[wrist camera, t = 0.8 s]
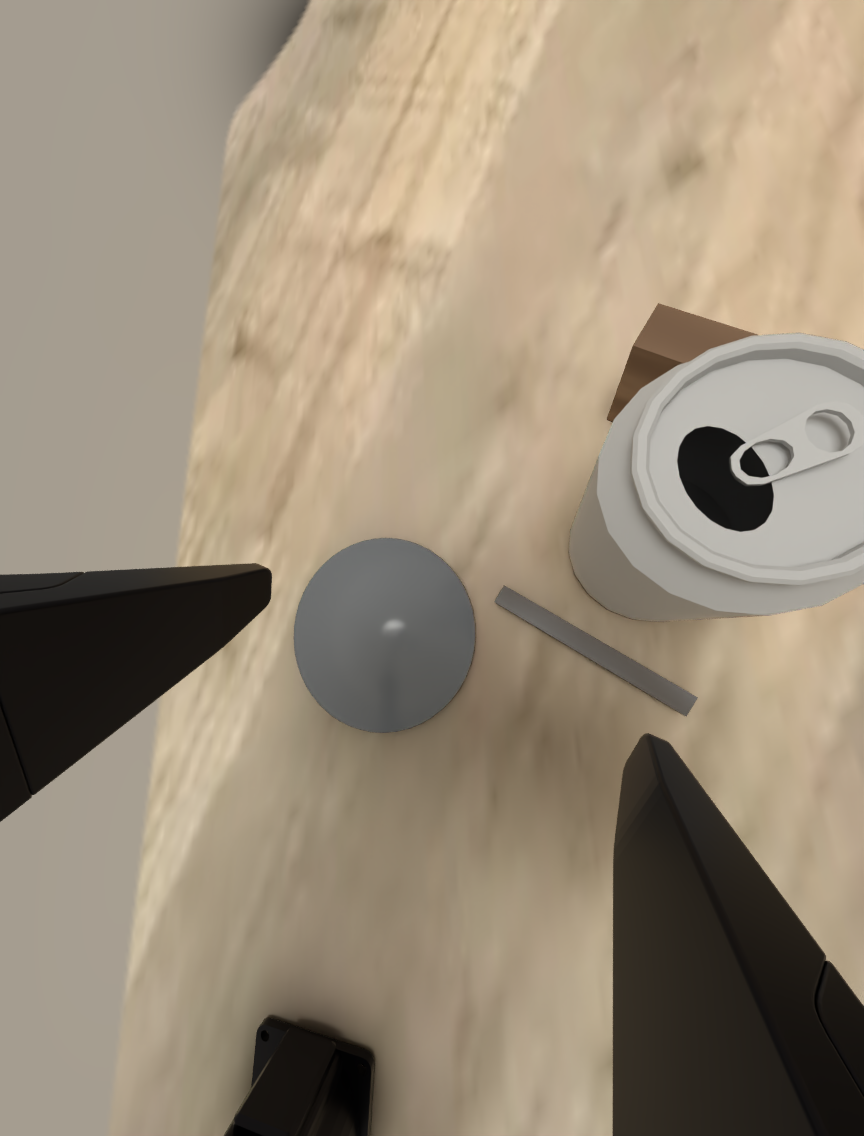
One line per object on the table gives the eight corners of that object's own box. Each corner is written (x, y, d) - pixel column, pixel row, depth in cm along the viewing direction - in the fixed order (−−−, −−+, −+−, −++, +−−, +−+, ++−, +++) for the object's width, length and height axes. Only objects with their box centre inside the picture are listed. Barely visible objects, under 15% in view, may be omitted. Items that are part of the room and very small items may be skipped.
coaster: (471, 742, 21) (470, 744, 21) (288, 719, 24) (285, 721, 24) (479, 539, 23) (478, 537, 22) (306, 539, 26) (302, 538, 25)
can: (544, 514, 22) (557, 390, 11) (682, 455, 21) (864, 244, 9) (603, 643, 21) (695, 662, 9) (757, 588, 19) (1092, 529, 8)
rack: (677, 711, 19) (738, 746, 14) (496, 603, 22) (483, 594, 16) (825, 464, 19) (949, 395, 14) (625, 388, 22) (658, 303, 16)
